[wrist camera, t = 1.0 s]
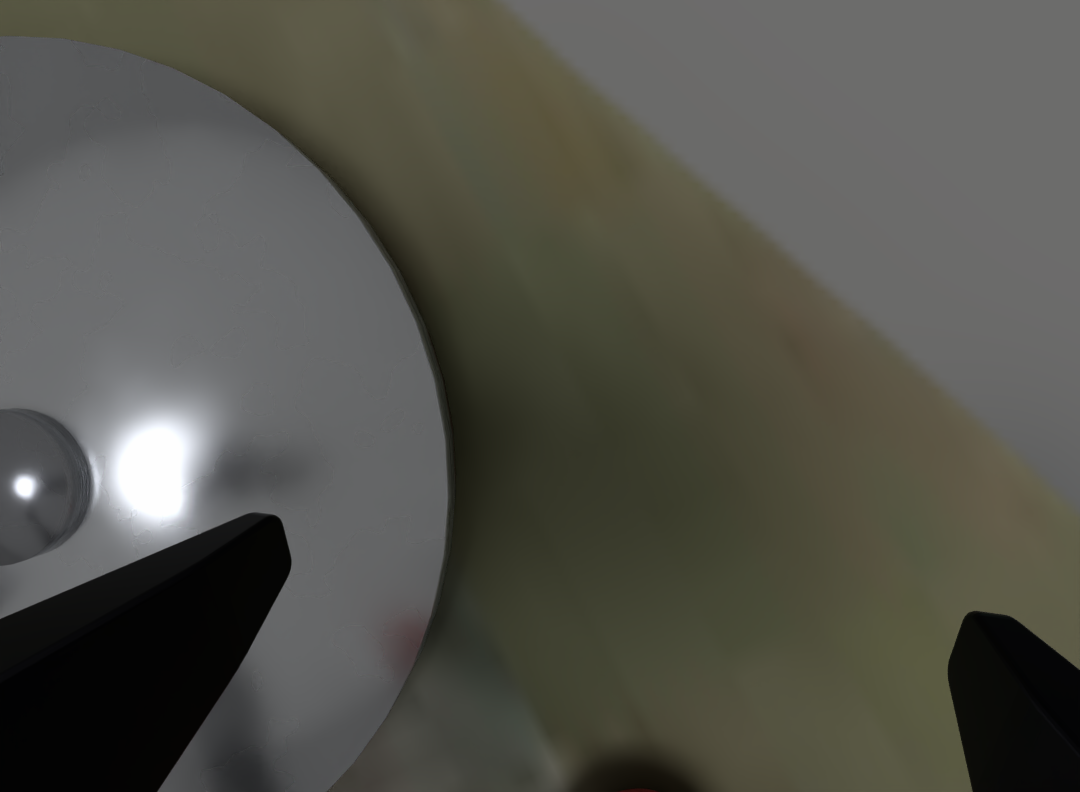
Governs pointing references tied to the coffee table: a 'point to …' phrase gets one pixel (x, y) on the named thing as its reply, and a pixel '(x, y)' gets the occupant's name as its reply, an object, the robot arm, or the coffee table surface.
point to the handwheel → (215, 393)
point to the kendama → (638, 790)
